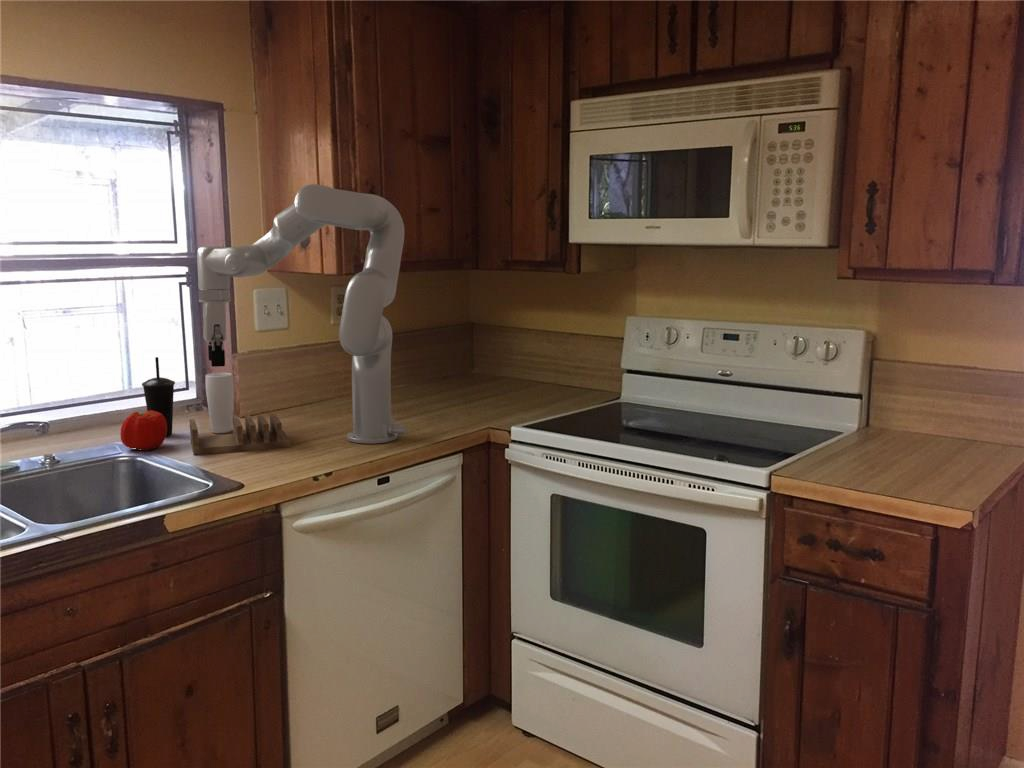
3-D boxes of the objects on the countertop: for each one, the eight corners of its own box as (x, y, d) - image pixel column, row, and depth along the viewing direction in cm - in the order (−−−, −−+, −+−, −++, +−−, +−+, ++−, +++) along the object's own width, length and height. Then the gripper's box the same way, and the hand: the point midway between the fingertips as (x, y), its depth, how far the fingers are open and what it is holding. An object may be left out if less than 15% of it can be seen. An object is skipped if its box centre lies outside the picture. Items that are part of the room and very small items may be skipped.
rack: (283, 435, 217) (282, 412, 216) (290, 446, 207) (289, 422, 205) (190, 443, 209) (189, 419, 208) (193, 455, 198) (192, 429, 197)
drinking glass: (227, 435, 217) (224, 377, 214) (202, 434, 218) (199, 376, 216) (240, 429, 224) (237, 372, 221) (217, 428, 225) (214, 371, 222)
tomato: (158, 440, 211) (155, 406, 210) (176, 449, 203) (173, 413, 202) (113, 447, 204) (110, 412, 203) (130, 456, 196) (127, 419, 195)
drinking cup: (180, 431, 221) (175, 354, 217) (175, 438, 213) (170, 359, 210) (148, 432, 219) (143, 355, 215) (142, 439, 212) (137, 360, 208)
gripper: (196, 293, 221) (198, 358, 224) (200, 299, 206) (203, 369, 209) (227, 293, 224) (229, 357, 227) (233, 298, 208) (235, 368, 212)
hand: (216, 363), depth 218 cm, fingers open, 9 cm apart
